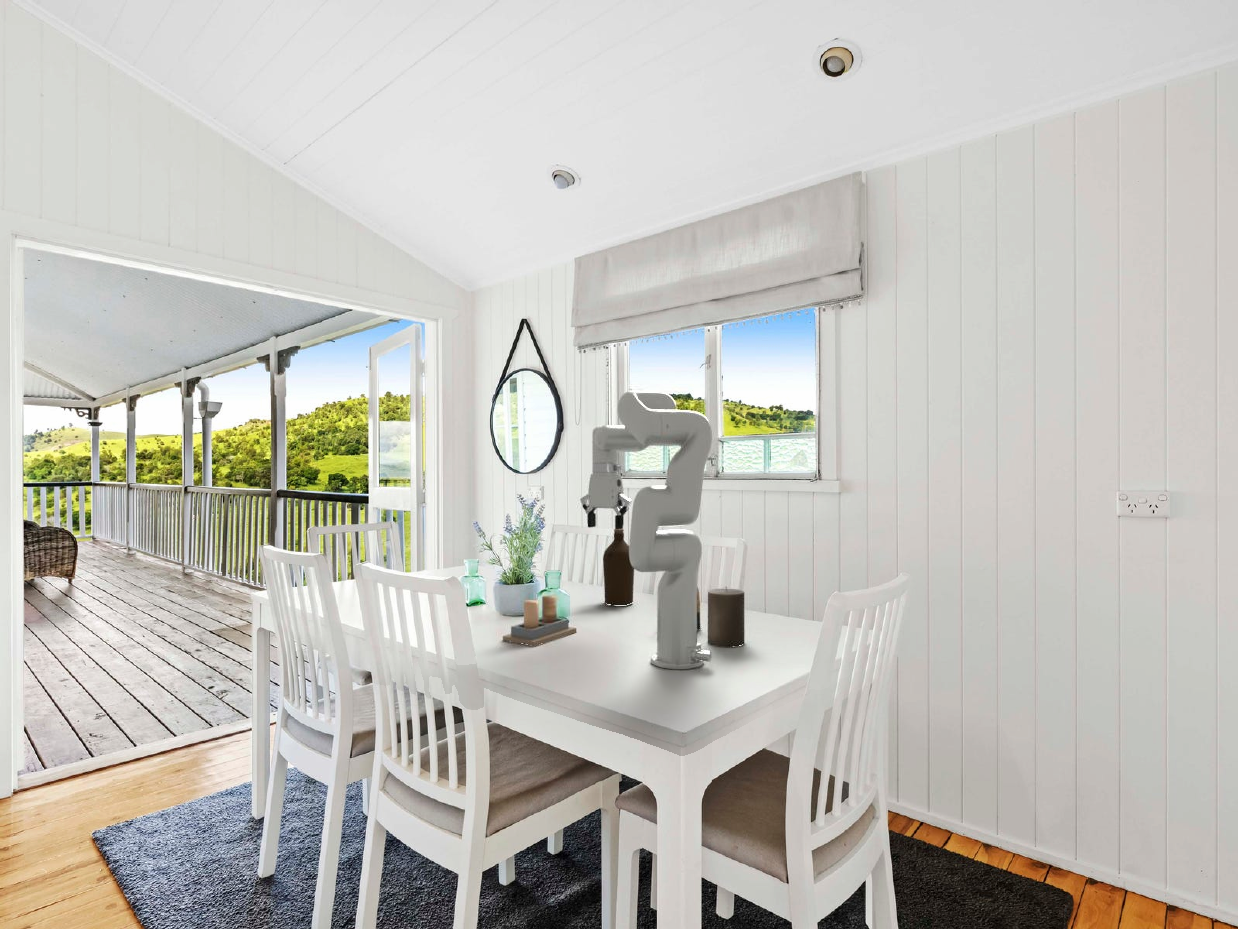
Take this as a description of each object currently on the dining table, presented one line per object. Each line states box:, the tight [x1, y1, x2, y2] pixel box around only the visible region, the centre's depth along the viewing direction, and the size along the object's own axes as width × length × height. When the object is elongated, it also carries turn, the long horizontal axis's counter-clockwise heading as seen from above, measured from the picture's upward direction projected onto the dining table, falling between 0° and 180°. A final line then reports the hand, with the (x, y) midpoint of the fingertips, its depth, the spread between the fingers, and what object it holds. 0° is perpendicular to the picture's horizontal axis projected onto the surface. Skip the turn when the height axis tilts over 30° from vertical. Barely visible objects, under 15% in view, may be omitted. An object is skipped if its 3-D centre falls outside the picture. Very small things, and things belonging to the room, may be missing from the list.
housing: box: [502, 599, 577, 647], centre depth 195 cm, size 11×18×10 cm, turn 146°
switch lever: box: [541, 595, 558, 623], centre depth 198 cm, size 4×4×9 cm
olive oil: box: [602, 528, 635, 605], centre depth 238 cm, size 11×11×25 cm
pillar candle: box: [707, 586, 746, 648], centre depth 188 cm, size 10×10×15 cm
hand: (605, 527), depth 208 cm, fingers open, 9 cm apart
